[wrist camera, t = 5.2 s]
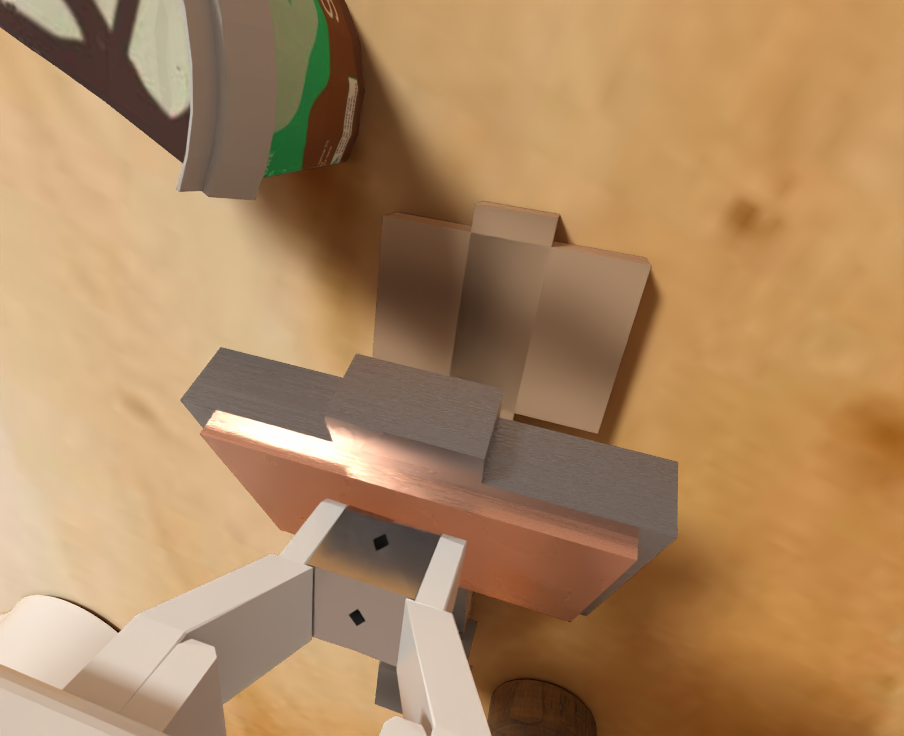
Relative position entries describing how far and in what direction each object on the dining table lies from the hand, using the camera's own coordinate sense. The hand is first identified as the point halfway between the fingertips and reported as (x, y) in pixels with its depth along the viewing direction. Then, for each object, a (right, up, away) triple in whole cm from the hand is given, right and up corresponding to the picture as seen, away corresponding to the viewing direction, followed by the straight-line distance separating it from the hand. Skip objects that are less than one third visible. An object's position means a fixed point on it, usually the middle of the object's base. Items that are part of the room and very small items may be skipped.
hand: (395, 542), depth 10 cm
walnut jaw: (+2, -1, +14) cm, 14 cm away
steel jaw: (+1, -3, +8) cm, 8 cm away
